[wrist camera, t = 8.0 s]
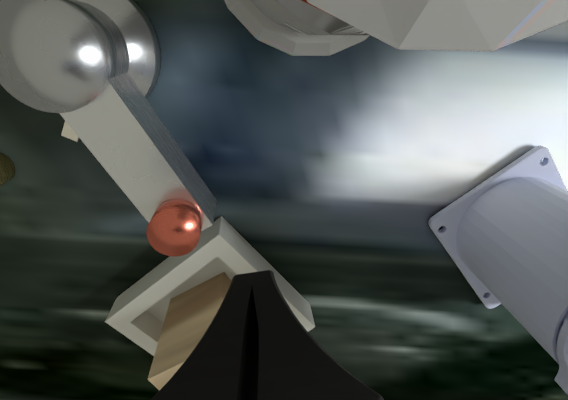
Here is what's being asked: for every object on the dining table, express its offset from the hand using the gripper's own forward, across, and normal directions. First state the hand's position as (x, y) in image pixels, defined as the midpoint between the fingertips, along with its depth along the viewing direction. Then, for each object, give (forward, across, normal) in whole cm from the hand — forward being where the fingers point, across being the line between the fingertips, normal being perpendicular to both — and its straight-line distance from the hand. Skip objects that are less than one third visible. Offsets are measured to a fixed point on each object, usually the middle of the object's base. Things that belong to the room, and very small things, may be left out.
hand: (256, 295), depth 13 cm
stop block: (+9, +4, +8) cm, 12 cm away
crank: (+8, +5, -5) cm, 10 cm away
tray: (+9, +4, +8) cm, 13 cm away
